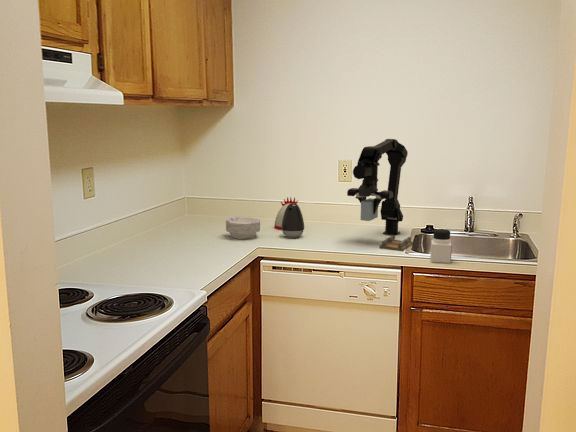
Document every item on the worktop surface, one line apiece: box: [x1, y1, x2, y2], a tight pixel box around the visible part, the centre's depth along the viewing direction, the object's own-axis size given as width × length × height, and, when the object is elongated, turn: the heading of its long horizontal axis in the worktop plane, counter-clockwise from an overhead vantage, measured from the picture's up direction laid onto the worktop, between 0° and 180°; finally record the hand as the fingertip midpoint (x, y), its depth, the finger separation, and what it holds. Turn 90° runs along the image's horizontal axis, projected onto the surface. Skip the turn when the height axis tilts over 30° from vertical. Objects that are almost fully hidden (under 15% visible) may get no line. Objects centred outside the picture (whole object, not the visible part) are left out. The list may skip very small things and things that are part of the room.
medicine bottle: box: [430, 228, 453, 264], centre depth 221 cm, size 7×7×12 cm
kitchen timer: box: [274, 196, 299, 231], centre depth 281 cm, size 14×14×15 cm
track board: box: [378, 235, 414, 252], centre depth 245 cm, size 14×10×3 cm
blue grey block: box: [360, 197, 379, 222], centre depth 250 cm, size 10×4×8 cm, turn 152°
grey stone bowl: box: [225, 216, 261, 240], centre depth 261 cm, size 15×15×8 cm
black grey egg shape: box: [281, 203, 305, 239], centre depth 261 cm, size 10×10×15 cm
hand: (369, 213), depth 250 cm, fingers closed on blue grey block, 4 cm apart
